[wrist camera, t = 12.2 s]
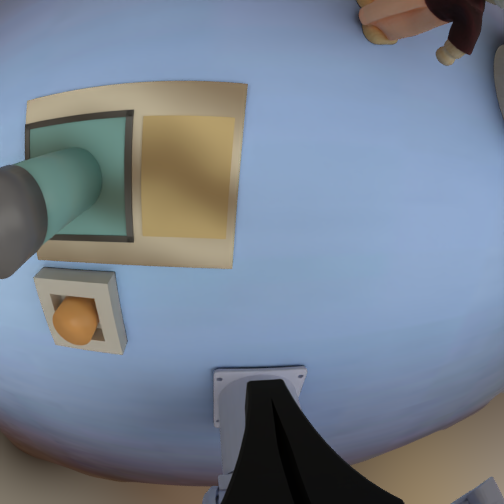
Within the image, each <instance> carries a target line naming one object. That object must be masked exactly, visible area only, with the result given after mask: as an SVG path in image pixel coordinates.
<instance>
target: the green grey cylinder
mask: <svg viewBox="0 0 504 504" xmlns="http://www.w3.org/2000/svg"><path fill="white" fill-rule="evenodd" d="M101 187H102V174H101V169H100V166H99V164H98V162H97V160H96V159H95V158H94V156H93V155H92V154H91V153H90V152H88V151H87V150H85V149H82V148H78V147H72V148H67V149H63V150H59V151H55V152H52V153H48V154H45V155H41V156H38V157H34V158H31V159H28V160H25V161H22V162H19V163H16V164H13V165H7V166H3V167H1V168H0V279H5V278H8V277H10V276H11V275H12V274H13V273H14V272H15V271H16V270H17V269H19V268H20V267H21V266H22V265H23V264H24V263H25V262H26V261H27V260H28V259H29V258H30V257H31V256H32V255H34V254H35V253H36V252H37V251H38V250H39V249H40V247H41V246H42V245H43V244H44V243H46V242H47V241H48V240H49V239H50V238H52V237H53V236H54V235H55V234H56V233H58V232H59V231H60V230H61V229H63V228H64V227H65V226H66V225H68V224H69V223H70V222H71V221H73V220H74V219H75V218H77V217H78V216H79V215H81V214H82V213H83V212H85V211H86V210H87V209H89V208H90V207H91V206H92V205H93V204H94V203H95V202H96V200H97V199H98V197H99V194H100V192H101Z"/></svg>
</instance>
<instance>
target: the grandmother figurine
mask: <svg viewBox="0 0 504 504" xmlns="http://www.w3.org/2000/svg"><path fill="white" fill-rule="evenodd" d="M485 1H487V2H489V3H492V4H494V5H497V6H499V7H500V8H502V9H503V10H504V0H357V2H358V4H359V5H360V7H361V9H360V11H359V19H360V21H361V23H362V24H363V25H362V28H363V32H364V35H365V37H366V38H367V39H368V40H369V41H370V42H372V43H374V44H380V45H382V44H395V43H396V42H397V41H398V39H401V38H406V37H411V36H415V35H418V34H420V33H423V32H426V31H429V30H431V29H433V28H435V27H438V26H441V25H444V24H447V23H449V22H452V21H453V24H452V26H451V28H450V31H449V35H448V40H447V41H446V42H445V44H444V46H443V47H440V48H439V49H438V50H437V51H436V57H437V59H438V61H439V62H440V63H442V64H443V65H446V66H449V65H452V64H453V63H454V61H455V59H459V58H461V57H462V56H463V55H464V54H468V55H471V53H472V51H473V49H474V46H475V44H476V41H477V39H478V37H479V35H480V32H481V26H482V15H483V12H484V9H485Z"/></svg>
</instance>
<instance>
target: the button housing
mask: <svg viewBox="0 0 504 504" xmlns="http://www.w3.org/2000/svg"><path fill="white" fill-rule="evenodd" d="M33 278H34V282H35V285H36V289H37V292H38V296H39V299H40V302H41V305H42V309H43V312H44V315H45V318H46V320H47V323H48V326H49V329H50V331H51V334H52V337H53V339H54V342H55V344H56V345H60V346H65V347H71V348H77V349H83V350H90V351H97V352H104V353H112V354H120V355H123V353H124V350H125V347H126V344H127V337H126V332H125V328H124V323H123V318H122V313H121V307H120V302H119V296H118V290H117V284H116V277H115V272H108V271H92V270H77V269H62V268H49V267H43V268H42V269H41V270H40V271H39V272H38V273H37V274H36V275H35V276H34V277H33ZM66 296H74V297H84V298H94V299H95V304H96V308H97V312H98V316H99V320H100V322H99V324H98V326H97V328H96V330H95V332H94V334H93V336H92V338H91V341H90V342H89V343H88V344H86V345H74V344H72V343H69V342H68V341H66V340H65V339H63V338H62V337H61V336H60V335H59V334H58V332H57V331H56V329H55V327H54V325H53V319H52V318H53V314H54V313H55V311H56V310H57V308H58V307H59V305H60V304H61V303H62V301H63V300H64V298H65V297H66Z"/></svg>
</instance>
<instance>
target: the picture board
mask: <svg viewBox="0 0 504 504" xmlns="http://www.w3.org/2000/svg"><path fill="white" fill-rule="evenodd" d="M247 86H248V84H242V83H229V82H210V81H156V82H138V83H126V84H115V85H107V86H99V87H92V88H85V89H79V90H73V91H68V92H63V93H58V94H53V95H49V96H44V97H40V98H36V99H32V100H29V101H27V113H26V124H25V160H28V159H31V158H34V157H38V156H41V155H45V154H48V153H52V152H55V151H59V150H63V149H67V148H72V147H78V148H82V149H85V150H87V151H88V152H90V153H91V154H92V155H93V156H94V158H95V159H96V160H97V162H98V164H99V166H100V169H101V174H102V187H101V192H100V194H99V197H98V199H97V200H96V202H95V203H94V204H93V205H92V206H91V207H90V208H89V209H87V210H86V211H85V212H83V213H82V214H81V215H79V216H78V217H77V218H75V219H74V220H73V221H71V222H70V223H69V224H68V225H66V226H65V227H64V228H63V229H61V230H60V231H59V232H58V233H56V234H55V235H54V236H53V237H52V238H50V239H49V240H48V241H47V242H46V243H44V244H43V245H42V246H41V247H40V249H39V250H38V251H37V256H38V260H51V261H67V262H85V263H103V264H122V265H144V266H167V267H192V268H221V269H232V263H233V249H234V235H235V222H236V209H237V196H238V184H239V172H240V161H241V149H242V138H243V127H244V117H245V106H246V96H247Z"/></svg>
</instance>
